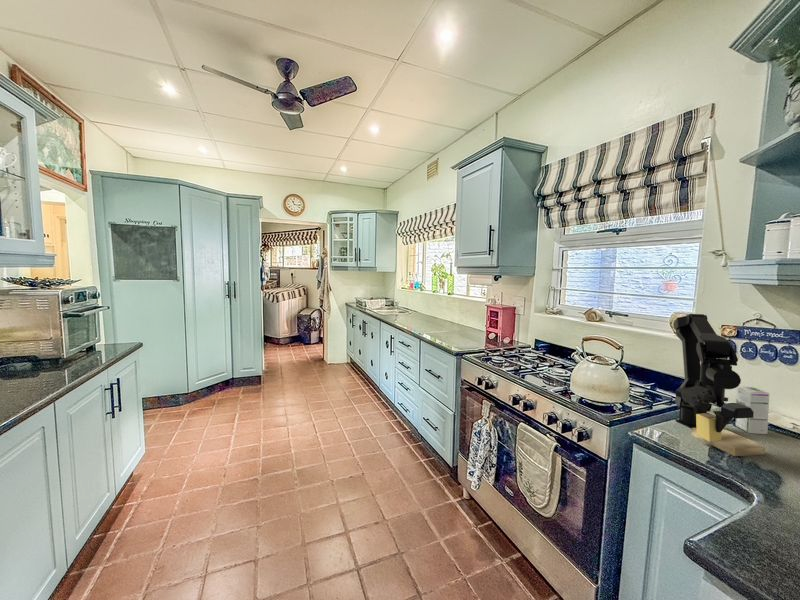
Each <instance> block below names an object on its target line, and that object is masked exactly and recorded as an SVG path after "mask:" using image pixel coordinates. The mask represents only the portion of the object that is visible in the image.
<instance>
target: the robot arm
mask: <svg viewBox="0 0 800 600" xmlns="http://www.w3.org/2000/svg"><path fill="white" fill-rule="evenodd" d="M672 327H673V329H674V331H675V335H676V337H677V338H678V339H679V341H681V343H682V345H681V346H682V358H683V359H682V360H683V371H684V372H683V373H684V381H683V382H682V383H681V385H680V386H679V387H678V388H677V389H676V390H675V405H676V406H677V407H678V408H679V416H678V418H675V419H674V421H675V422H677V423H678V424H679V423H680V424H681V425H684V426H686V427H688V428H691V429H692V428H696V414H702V413H710V412H711V410H712V406H715V408H719V409H718V410H713V411H712V413H713V415H715V416H716V432H721V431H722V430H723V429H725V428H726V427H727V425H729V422H731V421H732V420H733V419H736V418H753V414H754V412H753V410H752V409H751V408H750V407H747V406H744V405H741V404H738V403H736V402H735V403H734V402H732V403H727V402H728V401H729V397H726V396H725V395H726V394H725V393H726V390H733V389H737V387H740V384H741V382H742V380H741V379H742V378H741V377H740V374H739V373H738V372H736V371H734V370H733V366H736V367H737V366H738V361H739V359H738V355H737V353H736V349H735V348H734V346H733V345H732V344H731V343H730V341H729V340H728V339H727V338H726V337H724V336H721V335H718V334H717V333H716V331H715V329H714V328H713V326H712V325H711V324H710V322H709V319H708V316H707V315H706V314H704V313H703V314H702V313H688V314H686V315H683V316H680V317H679V316H678V317H676V319H674V321H673V326H672Z"/></svg>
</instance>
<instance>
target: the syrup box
mask: <svg viewBox="0 0 800 600" xmlns="http://www.w3.org/2000/svg"><path fill="white" fill-rule="evenodd" d="M735 403H738V404H741V405H744V406H747V407H750V408H751V409H752V410H753V412H754V414H753V418H735V420H734V421H735V423H734V424H735V425H734V426H735V427H737V428H739V429H741V430H742V431H744V432H746V433H749V434H753V435H755V434H756V435H768V430H769V429H768V428H769V427H768V426H769V412H770V411H769V410H770V409H769V407H770V392H768V391H765V390H763V389H759V388H757V387H753V386H738V387H736V401H735Z"/></svg>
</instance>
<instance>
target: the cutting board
mask: <svg viewBox="0 0 800 600" xmlns="http://www.w3.org/2000/svg"><path fill="white" fill-rule="evenodd" d="M691 436H692V437H694V438H696V439H698V440H700V441H703V443H707V444H708V445H710V446H712V447H715V448H717V449H719V450H721V451H723V452H725V453H727V454H729V455H731V456H733V457H745V456H748V457H749V456H763V455H766V446H765V445H763V444H761V443H758V442H757V441H754V440H752V439H748V438H747V437H744V436H742V435H740V434H737V433H735V432H733V431H730V430H727V429H725V428H724V429H723V430H722V431H721V438H722V440H718V441H707V440H705V439H703V438H701V437H699V436H697V428H691Z"/></svg>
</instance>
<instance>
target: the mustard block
mask: <svg viewBox="0 0 800 600" xmlns="http://www.w3.org/2000/svg"><path fill="white" fill-rule="evenodd" d="M696 428H697V436H699V437H701V438H703V439H705V440H707V441H718V440H722V438H721V432H716V415H715V414H712V413H710V412H707V413H702V414H696Z"/></svg>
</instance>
